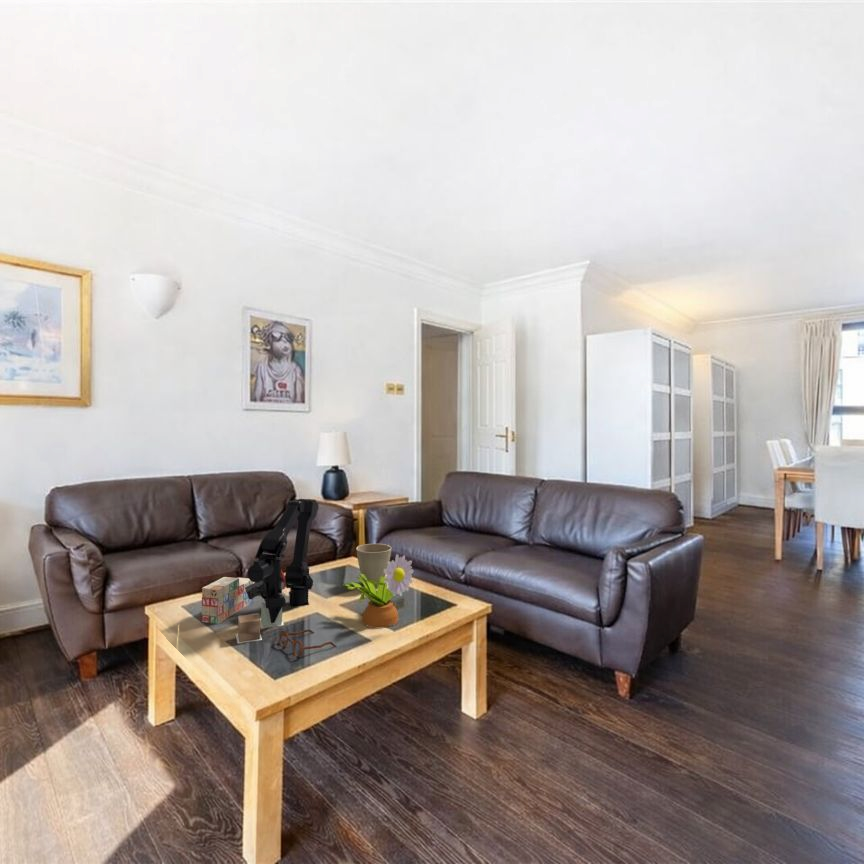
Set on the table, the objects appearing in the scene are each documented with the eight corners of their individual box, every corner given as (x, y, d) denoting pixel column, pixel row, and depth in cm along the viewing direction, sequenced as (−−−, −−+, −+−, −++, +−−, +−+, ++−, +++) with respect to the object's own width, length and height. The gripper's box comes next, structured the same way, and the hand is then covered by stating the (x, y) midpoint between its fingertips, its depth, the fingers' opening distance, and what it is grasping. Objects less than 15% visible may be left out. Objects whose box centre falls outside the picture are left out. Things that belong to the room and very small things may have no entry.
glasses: (277, 646, 152) (278, 630, 152) (315, 634, 161) (315, 619, 161) (299, 661, 143) (300, 644, 143) (337, 648, 152) (338, 632, 152)
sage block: (279, 617, 171) (279, 600, 171) (281, 624, 166) (282, 606, 166) (261, 620, 169) (261, 602, 169) (263, 626, 163) (263, 608, 163)
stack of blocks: (237, 601, 187) (238, 569, 187) (252, 603, 186) (253, 570, 186) (200, 623, 166) (201, 587, 166) (217, 625, 165) (218, 589, 165)
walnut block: (257, 631, 160) (258, 613, 160) (259, 639, 154) (260, 620, 154) (237, 634, 157) (238, 615, 157) (239, 642, 152) (239, 623, 152)
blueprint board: (284, 617, 173) (284, 616, 173) (294, 639, 156) (294, 638, 156) (222, 626, 164) (222, 625, 164) (225, 649, 147) (225, 648, 147)
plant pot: (376, 577, 221) (377, 541, 220) (397, 586, 210) (398, 548, 209) (348, 583, 211) (349, 546, 210) (368, 593, 200) (369, 554, 199)
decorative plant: (374, 640, 157) (376, 562, 156) (328, 618, 173) (330, 547, 173) (431, 617, 176) (433, 548, 176) (385, 600, 193) (387, 536, 192)
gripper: (244, 568, 172) (243, 612, 172) (249, 584, 155) (248, 633, 155) (277, 565, 177) (276, 608, 177) (286, 580, 160) (285, 628, 160)
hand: (271, 619), depth 167 cm, fingers closed on sage block, 6 cm apart
